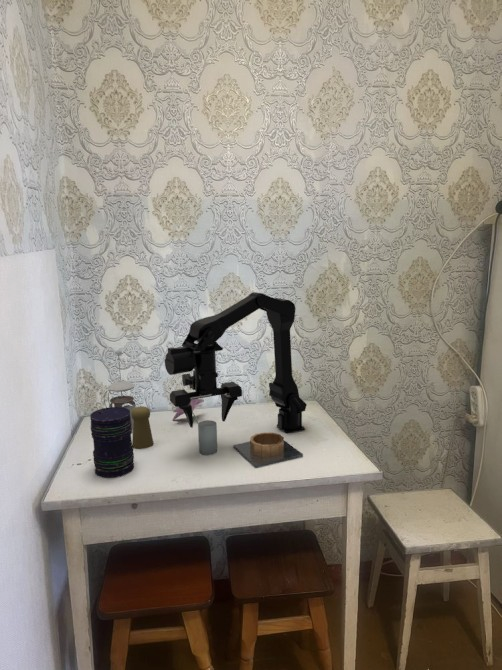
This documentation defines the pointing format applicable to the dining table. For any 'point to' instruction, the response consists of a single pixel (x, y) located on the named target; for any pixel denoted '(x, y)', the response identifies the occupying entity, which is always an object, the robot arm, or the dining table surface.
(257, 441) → the duct collar
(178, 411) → the lily
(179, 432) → the dining table surface
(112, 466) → the storage jar
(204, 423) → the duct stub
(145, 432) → the cork
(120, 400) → the french press
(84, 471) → the dining table surface
